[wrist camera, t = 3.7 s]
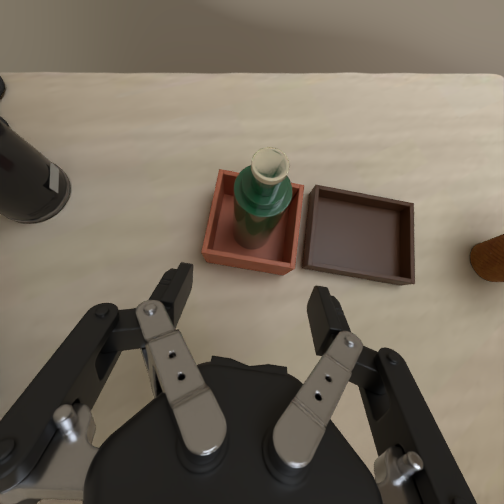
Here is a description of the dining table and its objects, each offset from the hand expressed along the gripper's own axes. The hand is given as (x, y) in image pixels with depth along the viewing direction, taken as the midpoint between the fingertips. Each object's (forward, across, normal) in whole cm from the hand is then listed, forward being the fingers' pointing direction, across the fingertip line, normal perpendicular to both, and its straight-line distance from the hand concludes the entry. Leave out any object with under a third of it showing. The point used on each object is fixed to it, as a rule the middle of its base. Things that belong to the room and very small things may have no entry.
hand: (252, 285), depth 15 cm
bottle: (+19, 0, +5) cm, 20 cm away
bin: (+19, 0, +6) cm, 20 cm away
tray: (+20, -16, +4) cm, 26 cm away
